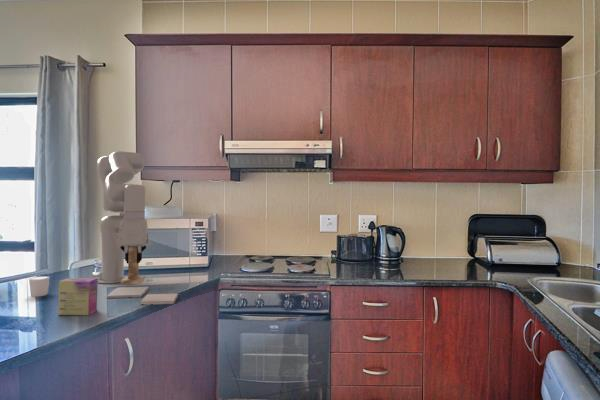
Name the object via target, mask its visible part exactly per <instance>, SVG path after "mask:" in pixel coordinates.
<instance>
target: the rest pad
mask: <svg viewBox="0 0 600 400" xmlns="http://www.w3.org/2000/svg"><path fill="white" fill-rule="evenodd" d="M149 288H150V287H149V286H130V287H129V286H126V287H124V286H122V287H121V286H120V287H116V288H115V289H114V290H112V291H111V292H110V293H108V294H107V295H106V299H123V298H124V299H125V298H128V297H132V298H142V297H143V296H144V295H145V294H146V292H148V290H149ZM143 294H144V295H143ZM142 295H143V296H142ZM141 296H142V297H141Z"/></svg>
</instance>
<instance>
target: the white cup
mask: <svg viewBox="0 0 600 400" xmlns="http://www.w3.org/2000/svg"><path fill="white" fill-rule="evenodd" d="M50 279H51V277H50V276H48V275H47V276H43V275H42V276H41V275H40V276H34V277H31V278H28V281H29V290H30V297H35V298H36V297H37V298H38V297H43V296H47V295H48V293H49V288H50V287H49V285H50Z"/></svg>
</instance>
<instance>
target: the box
mask: <svg viewBox="0 0 600 400" xmlns="http://www.w3.org/2000/svg"><path fill="white" fill-rule="evenodd" d="M98 279H99V277H93V278H92V277H91V278H88V277H87V278H86V277H85V278H84V277H82V278H81V277H67V278H64V279H61V280H59V281H58V305H57V306H58V307H57V308H58V309H57V315H58V316H86V315H87V316H89V315H92V314H93V313H95V312H97V310H98V284H99V282H98Z"/></svg>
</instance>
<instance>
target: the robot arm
mask: <svg viewBox="0 0 600 400" xmlns="http://www.w3.org/2000/svg"><path fill="white" fill-rule="evenodd" d="M96 167H97V172H98V176H99V178H100V180H101V184H102V206H103V207H102V208H103V210H104V211H105V212H106V213H110V214H111V213H113V214H115V213H117V215H113V214H112V215H106V216H103V217H102V218H101V219H100V222H99V228H100V229H99V230H100V234H101V269H100V270H101V271H100V272H92V274H91V278H92V277H93V278H98V284H117V283H121V280H122V279H123V278H125V277H126V276H127V275H124V274H125V273H124V272H125V270H124V269H125V268H124V266H125V265H124V263H125V262H126V264H128V257H129V247H130V246H138V253H137V263H141V262H142V258H143V252H144V251H145V250H146V249H147V248H149V247H151V246H152V242H151V240H150V239H149V227H148V220H147V219H146V218H145V217H146V212H145V211H146V188H145V186H144V185H142V184H133V183H131V184H130V183H128V182H130V181H132V180H133V179H134V177H135V176H136V175H138V174H139V173H141V172H142V171H143V169H144V167H145V159H144V157H143V155H142V154H141V153H139V152H134V151H133V152H131V151H120V150H119V151H118V150H117V151H113V152H112V153H111V154H109V155H105V156H101V157H100V158H98V159H97V166H96ZM118 214H119V215H118ZM124 256H125V257H124ZM124 261H125V262H124Z"/></svg>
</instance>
